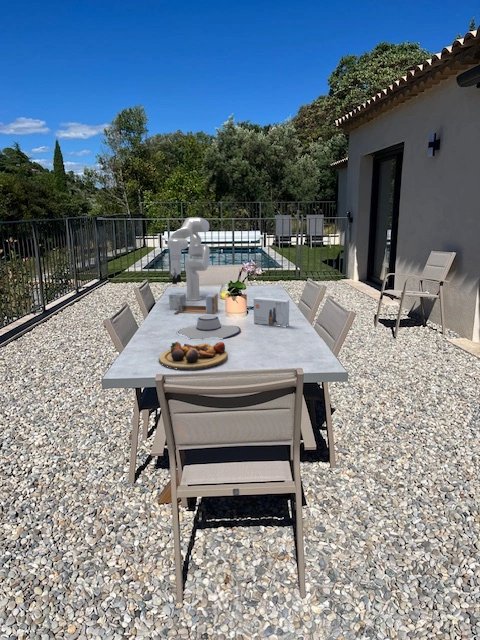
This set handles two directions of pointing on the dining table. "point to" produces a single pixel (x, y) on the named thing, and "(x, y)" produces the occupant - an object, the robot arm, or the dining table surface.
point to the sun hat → (209, 329)
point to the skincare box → (271, 311)
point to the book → (209, 303)
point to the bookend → (182, 304)
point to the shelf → (201, 307)
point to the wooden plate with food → (193, 356)
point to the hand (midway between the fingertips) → (176, 282)
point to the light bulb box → (175, 300)
